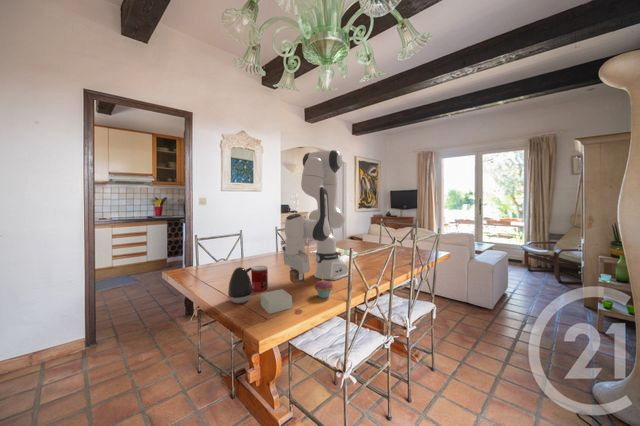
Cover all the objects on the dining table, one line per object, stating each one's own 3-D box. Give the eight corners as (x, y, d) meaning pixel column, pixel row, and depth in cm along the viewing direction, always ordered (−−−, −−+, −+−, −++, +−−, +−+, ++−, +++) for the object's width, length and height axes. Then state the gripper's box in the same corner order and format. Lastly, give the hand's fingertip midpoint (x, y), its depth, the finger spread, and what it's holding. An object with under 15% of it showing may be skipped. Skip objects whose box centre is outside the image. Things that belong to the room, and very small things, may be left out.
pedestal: (282, 300, 113) (282, 289, 113) (292, 308, 105) (292, 296, 104) (260, 305, 108) (260, 293, 108) (269, 314, 100) (268, 301, 99)
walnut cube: (299, 278, 124) (298, 268, 124) (304, 281, 120) (303, 270, 119) (290, 280, 121) (289, 270, 121) (294, 283, 117) (294, 273, 117)
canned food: (264, 292, 123) (263, 270, 122) (248, 291, 124) (248, 269, 124) (270, 287, 130) (269, 265, 130) (255, 286, 132) (255, 265, 131)
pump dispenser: (256, 302, 111) (255, 268, 110) (231, 308, 105) (230, 272, 105) (249, 295, 120) (248, 263, 119) (226, 299, 114) (225, 266, 113)
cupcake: (329, 300, 112) (329, 273, 111) (311, 298, 115) (311, 272, 114) (335, 293, 120) (334, 268, 120) (318, 291, 123) (318, 267, 122)
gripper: (312, 251, 112) (314, 282, 113) (292, 244, 129) (293, 271, 131) (299, 254, 109) (301, 285, 110) (280, 246, 126) (282, 273, 127)
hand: (297, 277), depth 120 cm, fingers closed on walnut cube, 5 cm apart
